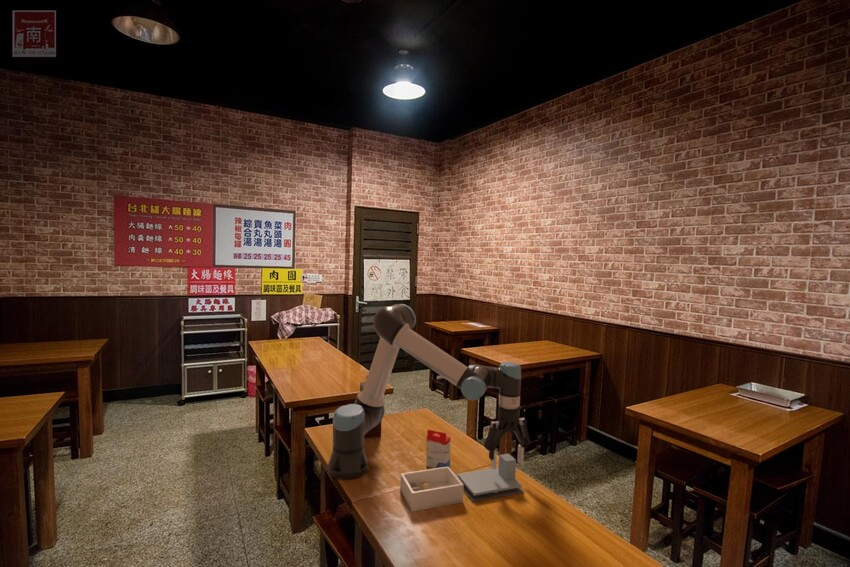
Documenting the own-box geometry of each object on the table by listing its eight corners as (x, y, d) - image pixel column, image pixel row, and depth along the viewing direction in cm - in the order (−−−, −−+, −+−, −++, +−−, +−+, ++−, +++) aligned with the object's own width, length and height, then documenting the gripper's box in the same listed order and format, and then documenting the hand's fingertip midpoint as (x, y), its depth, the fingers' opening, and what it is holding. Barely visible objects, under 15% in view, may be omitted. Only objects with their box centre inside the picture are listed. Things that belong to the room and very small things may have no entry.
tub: (411, 511, 133) (412, 493, 133) (400, 490, 145) (400, 473, 145) (462, 502, 139) (463, 484, 139) (447, 482, 151) (448, 466, 151)
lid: (473, 499, 140) (474, 473, 140) (457, 479, 153) (457, 455, 152) (521, 490, 146) (522, 465, 146) (501, 472, 159) (502, 448, 159)
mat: (472, 502, 139) (472, 501, 139) (454, 479, 153) (454, 478, 153) (524, 492, 146) (524, 491, 146) (502, 472, 160) (502, 470, 160)
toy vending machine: (377, 427, 199) (378, 369, 198) (381, 437, 189) (382, 376, 187) (358, 429, 197) (359, 370, 196) (361, 438, 186) (362, 377, 185)
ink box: (450, 465, 164) (451, 429, 163) (445, 471, 159) (446, 433, 159) (430, 460, 168) (431, 425, 167) (425, 466, 163) (426, 429, 162)
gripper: (485, 412, 143) (483, 475, 144) (542, 406, 151) (539, 466, 152) (475, 405, 150) (473, 465, 151) (530, 399, 158) (528, 456, 159)
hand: (506, 465), depth 152 cm, fingers open, 10 cm apart
